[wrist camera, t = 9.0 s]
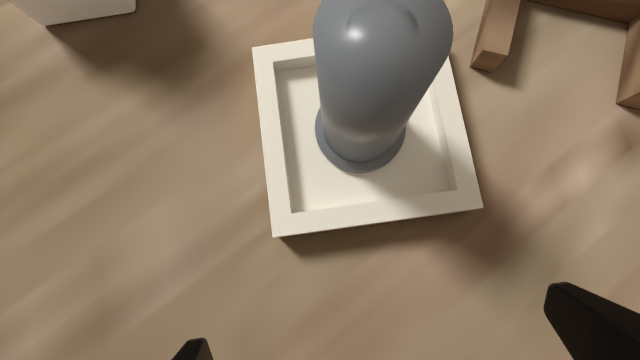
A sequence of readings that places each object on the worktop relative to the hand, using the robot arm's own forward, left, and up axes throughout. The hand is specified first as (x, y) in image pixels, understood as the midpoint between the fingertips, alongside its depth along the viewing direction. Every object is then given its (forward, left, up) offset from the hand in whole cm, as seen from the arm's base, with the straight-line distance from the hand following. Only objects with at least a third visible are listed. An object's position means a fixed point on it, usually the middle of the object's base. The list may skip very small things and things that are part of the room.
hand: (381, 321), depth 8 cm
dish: (+9, -2, -12) cm, 15 cm away
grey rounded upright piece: (+9, -2, -11) cm, 14 cm away
